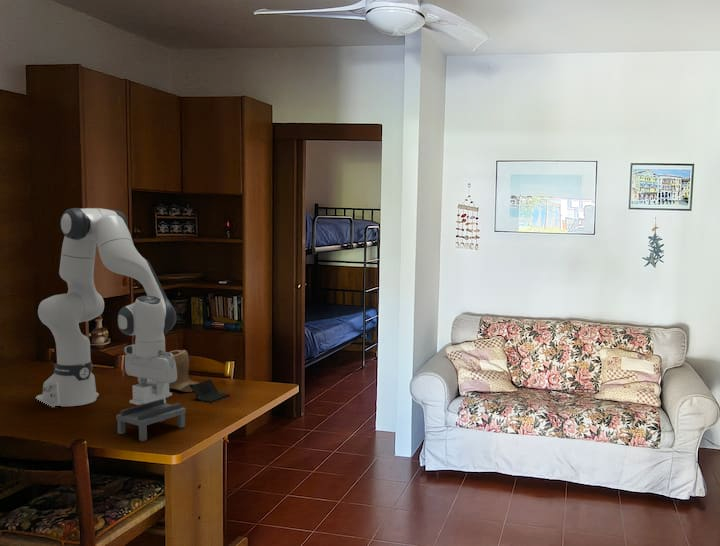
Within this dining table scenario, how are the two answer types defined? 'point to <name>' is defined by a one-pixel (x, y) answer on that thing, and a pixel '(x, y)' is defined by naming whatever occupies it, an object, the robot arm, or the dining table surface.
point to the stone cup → (182, 372)
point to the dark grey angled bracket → (207, 392)
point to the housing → (148, 392)
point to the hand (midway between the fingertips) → (151, 392)
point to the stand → (149, 416)
